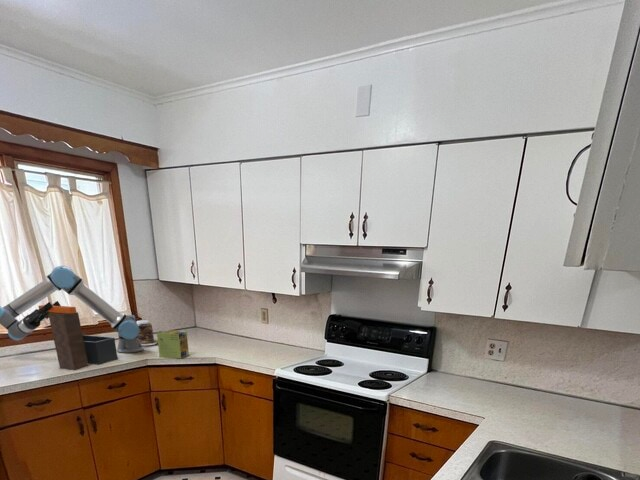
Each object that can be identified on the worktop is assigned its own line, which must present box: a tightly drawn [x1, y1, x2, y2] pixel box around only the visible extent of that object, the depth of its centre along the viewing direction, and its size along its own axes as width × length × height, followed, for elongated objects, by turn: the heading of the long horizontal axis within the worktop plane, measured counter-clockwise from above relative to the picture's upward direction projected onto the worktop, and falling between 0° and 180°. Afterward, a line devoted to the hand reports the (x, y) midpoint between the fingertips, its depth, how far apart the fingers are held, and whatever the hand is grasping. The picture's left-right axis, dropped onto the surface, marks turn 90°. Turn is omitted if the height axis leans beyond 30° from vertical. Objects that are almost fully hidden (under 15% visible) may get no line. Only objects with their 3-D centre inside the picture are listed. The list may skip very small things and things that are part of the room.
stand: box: [48, 311, 89, 371], centre depth 236 cm, size 10×10×30 cm
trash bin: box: [82, 334, 119, 366], centre depth 255 cm, size 24×16×13 cm, turn 75°
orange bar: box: [37, 304, 77, 314], centre depth 230 cm, size 20×4×3 cm, turn 75°
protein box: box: [156, 329, 190, 359], centre depth 270 cm, size 10×15×16 cm
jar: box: [136, 319, 155, 344], centre depth 308 cm, size 12×12×15 cm
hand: (54, 303), depth 229 cm, fingers closed on orange bar, 4 cm apart
